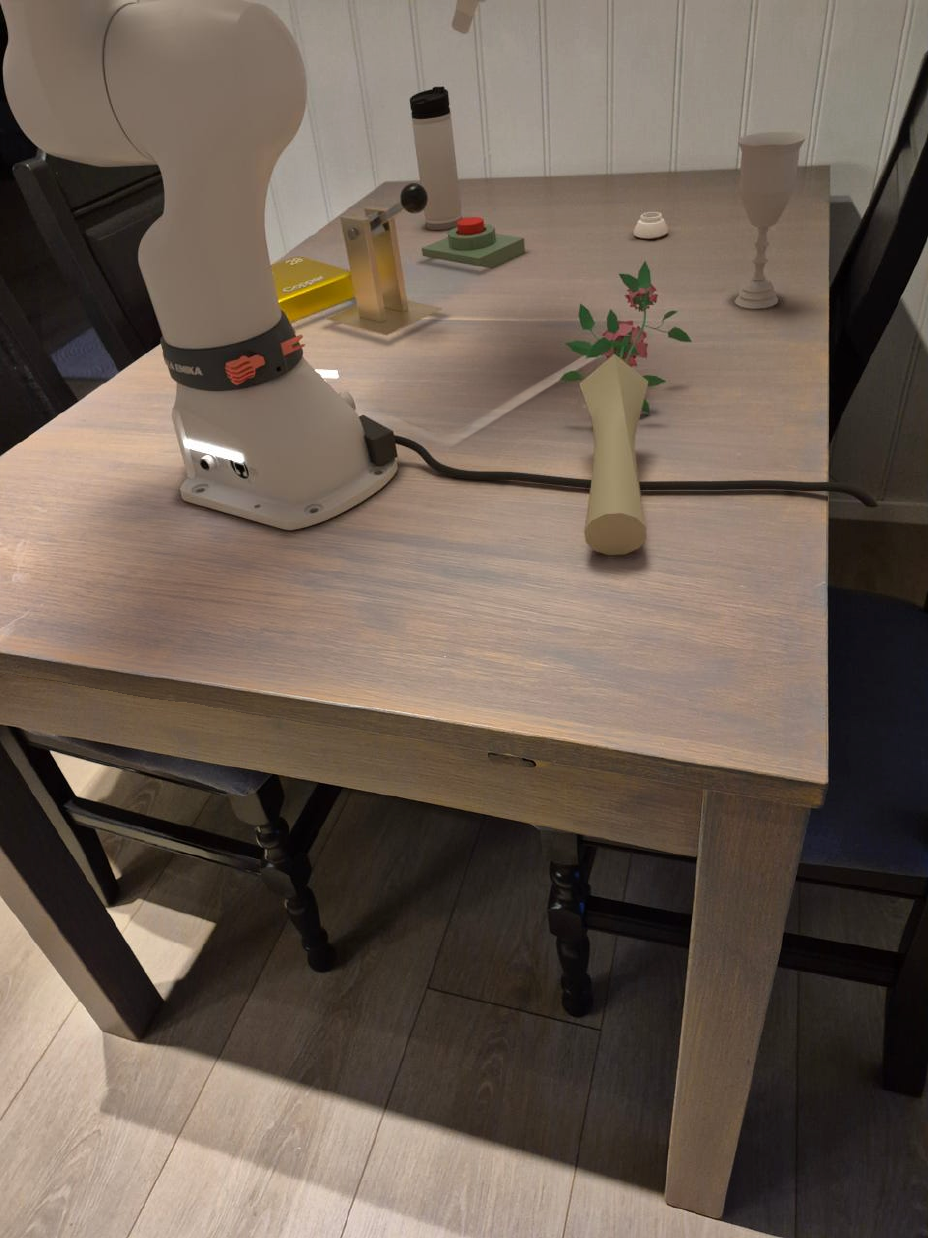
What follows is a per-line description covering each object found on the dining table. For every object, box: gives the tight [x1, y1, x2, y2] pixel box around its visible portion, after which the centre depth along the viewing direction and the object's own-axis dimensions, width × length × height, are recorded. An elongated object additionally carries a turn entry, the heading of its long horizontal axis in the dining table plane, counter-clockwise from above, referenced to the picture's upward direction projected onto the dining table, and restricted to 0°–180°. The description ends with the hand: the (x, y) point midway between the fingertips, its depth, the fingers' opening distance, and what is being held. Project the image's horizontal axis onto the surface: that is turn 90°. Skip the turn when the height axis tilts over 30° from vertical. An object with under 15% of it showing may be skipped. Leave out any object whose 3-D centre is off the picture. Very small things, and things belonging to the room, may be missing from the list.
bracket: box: [326, 205, 443, 337], centre depth 114 cm, size 12×10×14 cm
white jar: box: [633, 211, 669, 240], centre depth 133 cm, size 5×3×5 cm
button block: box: [421, 223, 526, 269], centre depth 134 cm, size 12×10×4 cm
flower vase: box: [558, 260, 693, 556], centre depth 82 cm, size 12×12×35 cm
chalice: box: [734, 131, 807, 310], centre depth 104 cm, size 7×7×18 cm
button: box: [457, 216, 485, 236], centre depth 132 cm, size 4×4×2 cm
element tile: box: [271, 255, 355, 324], centre depth 125 cm, size 15×15×5 cm
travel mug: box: [409, 86, 463, 232], centre depth 145 cm, size 6×7×20 cm
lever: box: [364, 182, 428, 239], centre depth 107 cm, size 13×3×3 cm, turn 46°
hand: (467, 10), depth 92 cm, fingers open, 8 cm apart
